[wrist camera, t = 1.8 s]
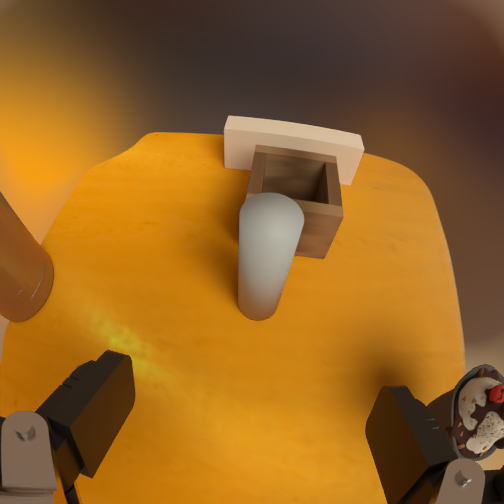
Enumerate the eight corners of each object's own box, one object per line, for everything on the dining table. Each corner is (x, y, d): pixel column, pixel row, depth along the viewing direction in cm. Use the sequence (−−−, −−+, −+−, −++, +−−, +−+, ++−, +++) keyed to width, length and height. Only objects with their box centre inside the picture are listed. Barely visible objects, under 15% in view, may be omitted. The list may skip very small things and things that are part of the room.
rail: (224, 168, 36) (223, 128, 31) (228, 153, 37) (228, 115, 32) (350, 185, 35) (364, 149, 30) (347, 170, 37) (360, 135, 32)
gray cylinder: (235, 317, 25) (235, 237, 15) (240, 281, 27) (244, 189, 17) (275, 322, 25) (303, 246, 15) (279, 286, 27) (304, 197, 17)
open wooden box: (242, 248, 29) (244, 203, 24) (252, 189, 34) (255, 144, 28) (324, 258, 29) (343, 217, 23) (322, 199, 33) (336, 156, 28)
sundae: (374, 398, 22) (500, 353, 9) (432, 384, 22) (553, 329, 9) (378, 466, 18) (509, 478, 5) (438, 446, 18) (565, 426, 6)
